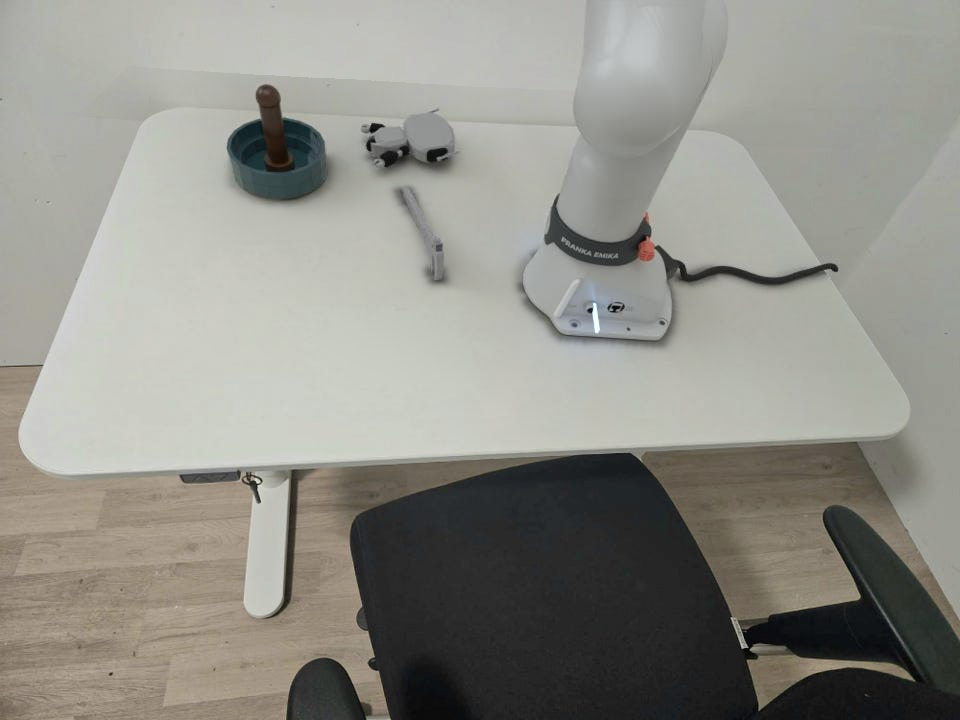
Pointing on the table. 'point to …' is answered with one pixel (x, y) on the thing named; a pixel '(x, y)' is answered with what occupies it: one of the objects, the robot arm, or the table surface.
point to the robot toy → (412, 139)
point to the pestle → (273, 130)
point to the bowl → (253, 177)
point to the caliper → (426, 235)
